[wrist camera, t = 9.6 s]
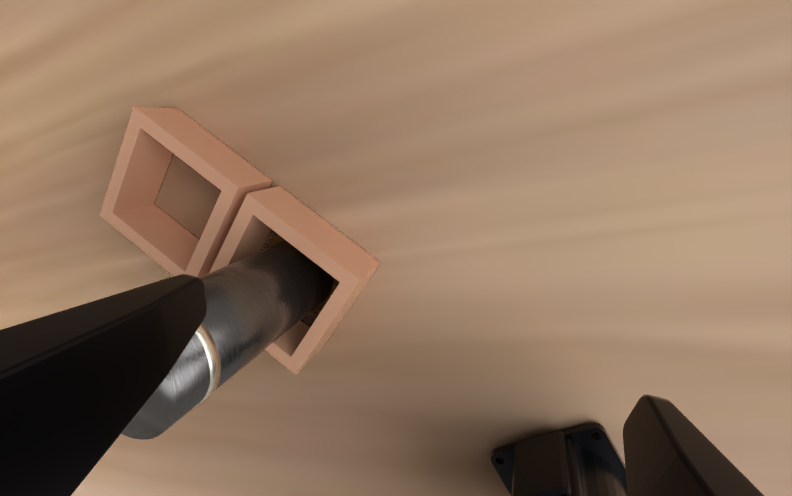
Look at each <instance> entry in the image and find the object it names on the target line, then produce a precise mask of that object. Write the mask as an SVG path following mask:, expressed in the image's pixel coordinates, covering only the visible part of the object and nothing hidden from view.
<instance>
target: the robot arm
mask: <svg viewBox="0 0 792 496" xmlns="http://www.w3.org/2000/svg"><path fill="white" fill-rule="evenodd" d="M206 313H207V303H206V294H205V285H204V282H203V280H202V279H201V278H199V277H196V276H192V275H188V274H180V275H177V276H174V277H171V278H167V279H164V280H161V281H158V282H154V283H151V284H148V285H145V286H141V287H138V288H135V289H132V290H129V291H125V292H122V293H119V294H116V295H112V296H109V297H106V298H103V299H99V300H96V301H93V302H90V303H86V304H83V305H80V306H77V307H74V308H70V309H67V310H64V311H61V312H57V313H54V314H51V315H48V316H44V317H41V318H38V319H35V320H31V321H28V322H25V323H22V324H19V325H15V326H12V327H9V328H6V329H2V330H0V496H71V495H72V493H73V492H74V491H75V490H76V488H77V487H78V486H79V485H80V483H81V482H82V481H83V480H84V479H85V477H86V476H87V475H88V474H89V472H90V471H91V470H92V469H93V467H94V466H95V465H96V464H97V462H98V461H99V460H100V459H101V457H102V456H103V455H104V454H105V453H106V451H107V450H108V449H109V448H110V446H111V445H112V444H113V443H114V441H115V440H116V439H117V438H118V436H119V435H120V434H121V433H122V432H123V430H124V429H125V428H126V427H127V425H128V424H129V423H130V422H131V420H132V419H133V418H134V417H135V415H136V414H137V413H138V412H139V410H140V409H141V408H142V407H143V406H144V404H145V403H146V402H147V401H148V399H149V398H150V397H151V396H152V394H153V393H154V392H155V391H156V389H157V388H158V387H159V386H160V384H161V383H162V382H163V380H164V379H165V378H166V376H167V375H168V373H169V372H170V371H171V369H172V368H173V366H174V365H175V363H176V362H177V360H178V359H179V357H180V355H181V354H182V352H183V351H184V349H185V348H186V346H187V345H188V343H189V342H190V340H191V339H192V337H193V336H194V334H195V333H196V331H197V329H198V328H199V326H200V325H201V323H202V322H203V320H204V318H205V316H206ZM593 432H599V433H600V434H598V435H593V434H591V433H593ZM623 442H624V454H625V464H624V463H623V461H622V459H621V457H620V455H619V454H618V452H617V450H616V448H615V446H614V444H613V443H612V441H611V439H610V437H609V435H608V434H607V432H606V430H605V428H604V427H603V426H602V425H600V424H598V423H589V424H585V425H582V426H578V427H574V428H571V429H567V430H563V431H556V432H552V433H549V434H545V435H541V436H537V437H534V438H530V439H526V440H523V441H519V442H517V443H515V444H511V445H507V446H504V447H500V448H496V449H494V450H493V451H492V456H491V461H492V464H493V465H494V467H495V469H496V470H497V472H498V474H499V476H500V477H501V479H502V481H503V482H504V484H505V486H506V488H507V489H508V491H509V493H510V494H511V496H764V495H763V494H762V493H761V492H760V491H759V490H758V489H757V488H756V487H755V486H754V485H753V484H752V483H751V482H750V481H749V480H748V479H747V478H746V477H745V476H744V475H743V474H742V473H741V472H740V471H739V470H738V469H737V468H736V467H735V466H734V465H733V464H732V463H731V462H730V461H729V460H728V459H727V458H726V457H725V456H724V455H723V454H722V453H721V452H720V451H719V450H718V449H717V448H716V447H715V446H714V445H713V444H712V443H711V442H710V441H709V440H708V439H707V438H706V437H705V436H704V435H703V434H702V433H701V432H700V431H699V430H698V429H697V428H696V427H695V426H694V425H693V424H692V423H691V422H690V421H689V420H688V419H687V418H686V417H685V416H684V415H683V414H682V413H681V412H680V411H679V410H678V409H677V408H676V407H675V406H674V405H673V404H672V403H671V402H670V401H668V400H666V399H663V398H659V397H655V396H652V395H643V396H642V397H641V398H640V399H639V400H638V402H637V404H636V405H635V407H634V409H633V410H632V412H631V413H630V415H629V417H628V418H627V420H626V422H625V424H624V428H623ZM497 457H502V458H503V459H498V458H497Z"/></svg>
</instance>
